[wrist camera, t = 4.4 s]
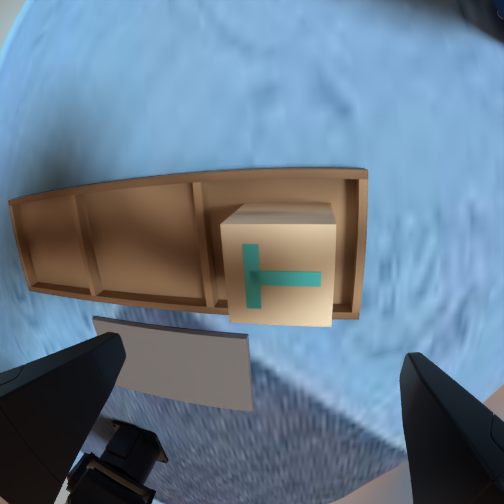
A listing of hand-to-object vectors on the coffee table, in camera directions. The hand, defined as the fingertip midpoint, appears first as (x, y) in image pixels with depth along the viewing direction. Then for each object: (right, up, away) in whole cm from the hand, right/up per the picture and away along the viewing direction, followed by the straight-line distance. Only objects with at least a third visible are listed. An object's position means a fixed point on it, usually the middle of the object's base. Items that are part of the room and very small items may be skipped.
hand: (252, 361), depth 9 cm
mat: (-7, -6, +16) cm, 19 cm away
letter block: (+2, +4, +10) cm, 11 cm away
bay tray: (-7, +4, +12) cm, 15 cm away
